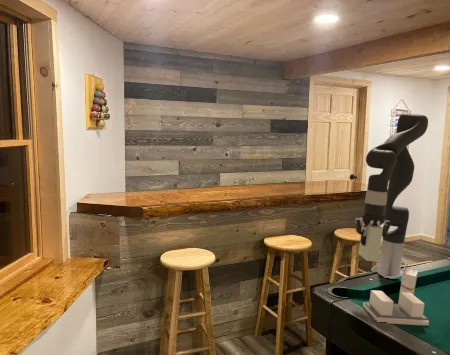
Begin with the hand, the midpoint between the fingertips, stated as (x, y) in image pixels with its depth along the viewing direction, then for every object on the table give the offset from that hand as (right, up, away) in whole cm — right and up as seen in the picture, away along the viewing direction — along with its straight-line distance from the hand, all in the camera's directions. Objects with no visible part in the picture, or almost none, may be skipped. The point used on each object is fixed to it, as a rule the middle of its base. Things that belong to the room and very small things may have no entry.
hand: (369, 245), depth 143 cm
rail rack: (+5, -23, -10) cm, 26 cm away
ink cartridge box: (+16, -23, +4) cm, 28 cm away
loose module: (0, -5, +1) cm, 5 cm away
